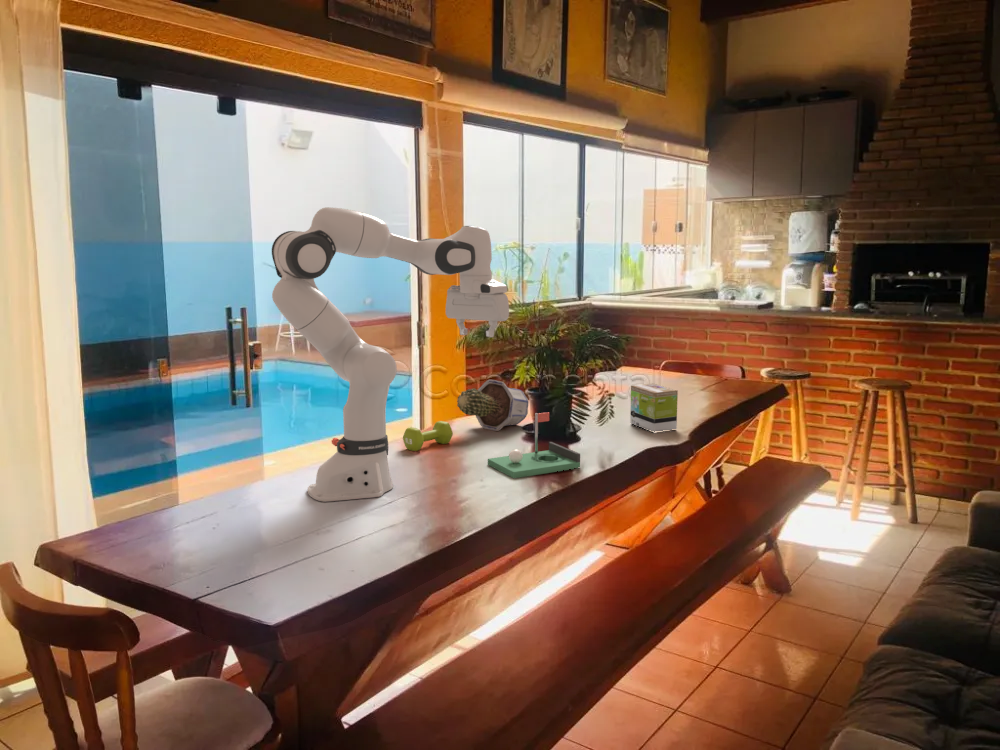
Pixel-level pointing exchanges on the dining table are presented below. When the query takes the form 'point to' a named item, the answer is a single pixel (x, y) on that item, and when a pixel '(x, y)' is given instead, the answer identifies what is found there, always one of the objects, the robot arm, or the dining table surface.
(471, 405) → the potted plant
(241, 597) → the dining table surface
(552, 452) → the mat
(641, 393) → the tea box
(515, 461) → the ball
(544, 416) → the flag pin
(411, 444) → the dumbbell
